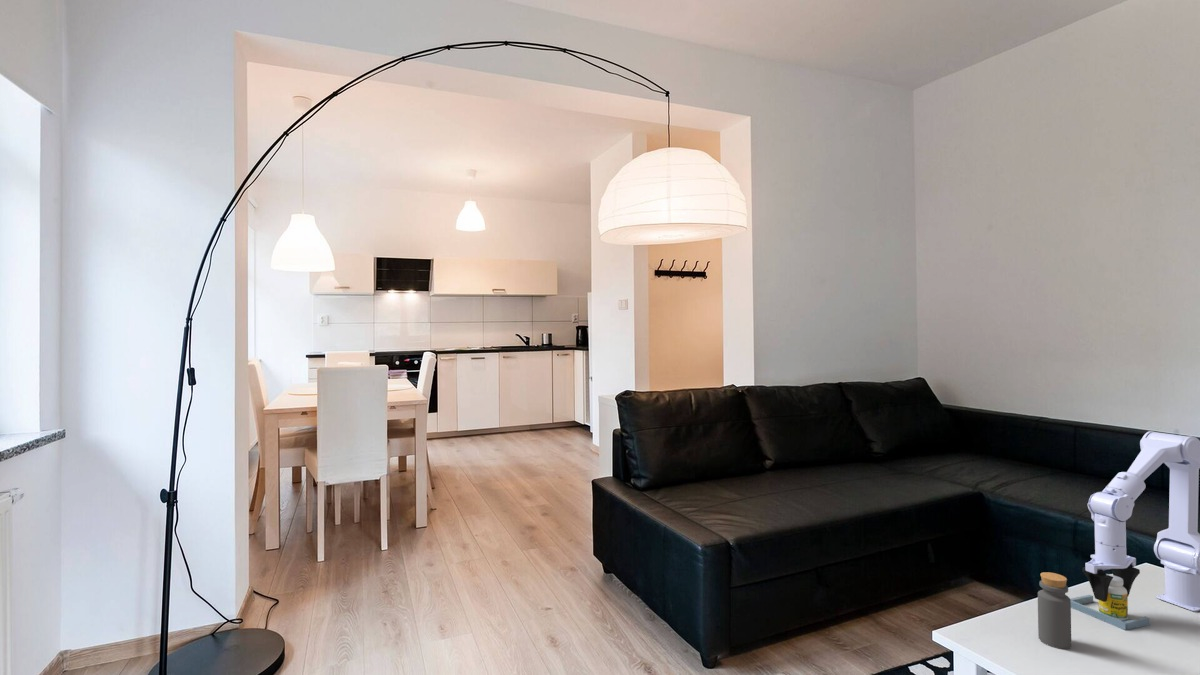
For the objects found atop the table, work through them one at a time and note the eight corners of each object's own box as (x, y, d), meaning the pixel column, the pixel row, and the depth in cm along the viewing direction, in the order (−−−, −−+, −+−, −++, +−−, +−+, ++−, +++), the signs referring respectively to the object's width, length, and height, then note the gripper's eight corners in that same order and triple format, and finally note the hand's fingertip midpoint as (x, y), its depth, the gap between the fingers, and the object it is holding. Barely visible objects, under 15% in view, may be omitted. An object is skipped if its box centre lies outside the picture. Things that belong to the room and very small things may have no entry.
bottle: (1059, 635, 129) (1058, 571, 129) (1078, 649, 123) (1077, 582, 123) (1032, 634, 130) (1031, 570, 130) (1050, 648, 124) (1048, 581, 124)
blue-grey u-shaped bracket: (1089, 600, 146) (1089, 594, 146) (1149, 624, 133) (1149, 618, 133) (1066, 605, 143) (1066, 599, 143) (1125, 630, 131) (1125, 623, 131)
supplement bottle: (1115, 610, 140) (1114, 572, 140) (1134, 621, 135) (1133, 582, 135) (1092, 610, 140) (1092, 572, 140) (1110, 621, 135) (1109, 581, 135)
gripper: (1112, 533, 143) (1113, 586, 143) (1071, 540, 139) (1072, 594, 139) (1145, 543, 136) (1146, 598, 136) (1103, 550, 132) (1104, 607, 132)
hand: (1111, 597), depth 137 cm, fingers open, 7 cm apart
